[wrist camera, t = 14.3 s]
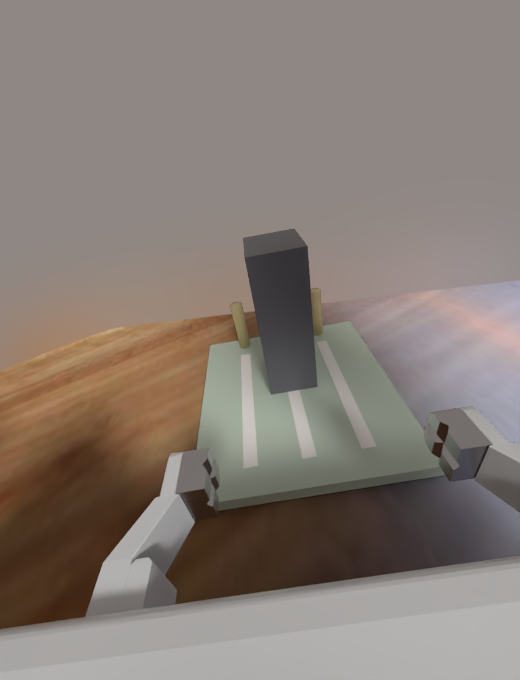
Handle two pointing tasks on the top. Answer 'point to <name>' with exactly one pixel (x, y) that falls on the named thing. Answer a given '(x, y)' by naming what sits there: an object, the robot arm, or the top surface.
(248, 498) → the pinboard
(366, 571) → the top surface
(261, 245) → the block
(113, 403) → the top surface
